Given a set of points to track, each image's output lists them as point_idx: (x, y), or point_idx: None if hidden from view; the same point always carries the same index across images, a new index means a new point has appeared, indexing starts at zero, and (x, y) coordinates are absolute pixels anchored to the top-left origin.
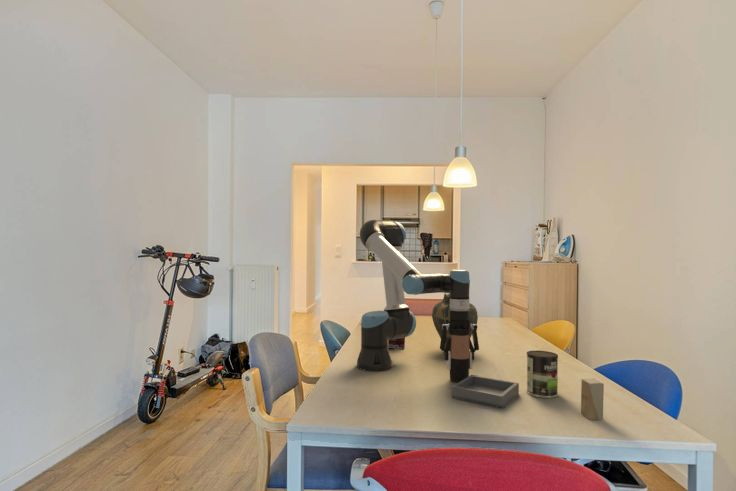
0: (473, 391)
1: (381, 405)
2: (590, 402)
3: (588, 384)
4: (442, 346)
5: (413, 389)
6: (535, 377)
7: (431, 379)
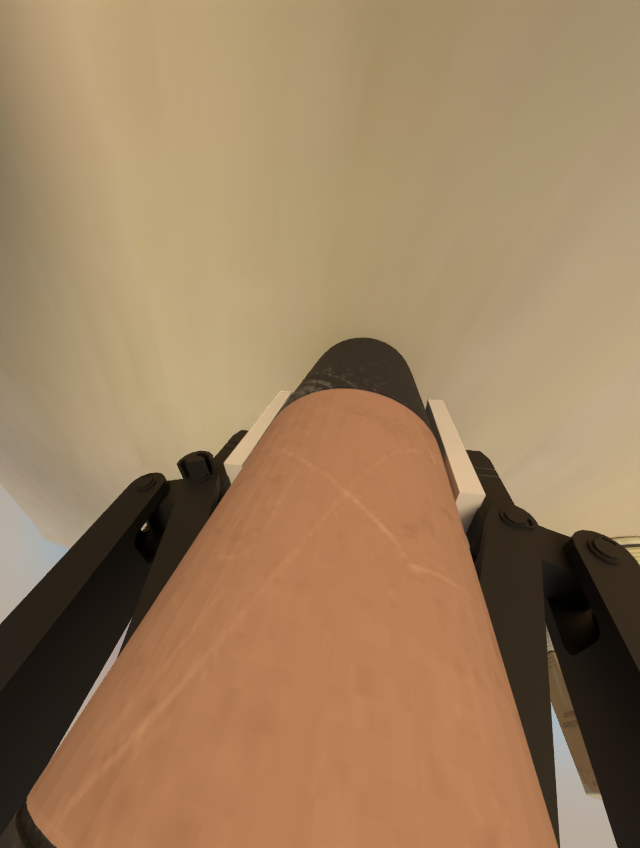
0: None
1: None
2: (557, 717)
3: (587, 785)
4: (147, 550)
5: (174, 456)
6: None
7: (226, 354)
